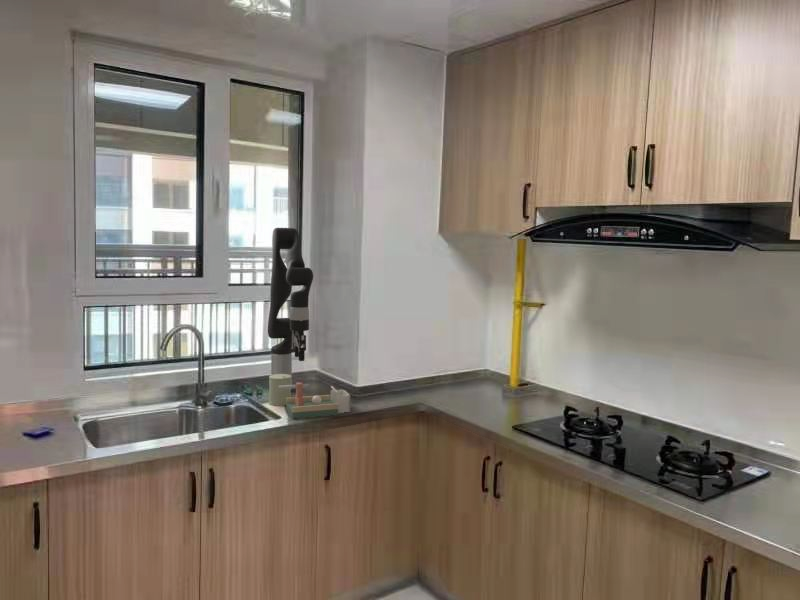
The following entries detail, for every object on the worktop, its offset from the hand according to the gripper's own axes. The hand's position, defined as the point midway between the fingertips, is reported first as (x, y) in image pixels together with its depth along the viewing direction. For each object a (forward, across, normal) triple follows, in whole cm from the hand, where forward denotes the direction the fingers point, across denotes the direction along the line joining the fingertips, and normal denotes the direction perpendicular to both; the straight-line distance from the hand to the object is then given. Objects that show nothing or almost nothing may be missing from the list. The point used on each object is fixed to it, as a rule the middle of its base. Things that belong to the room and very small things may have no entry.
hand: (299, 358), depth 243 cm
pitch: (+22, 0, +5) cm, 22 cm away
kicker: (+19, 0, -2) cm, 19 cm away
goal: (+22, 0, +16) cm, 27 cm away
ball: (+17, 0, +7) cm, 19 cm away
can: (+22, -17, -5) cm, 28 cm away
